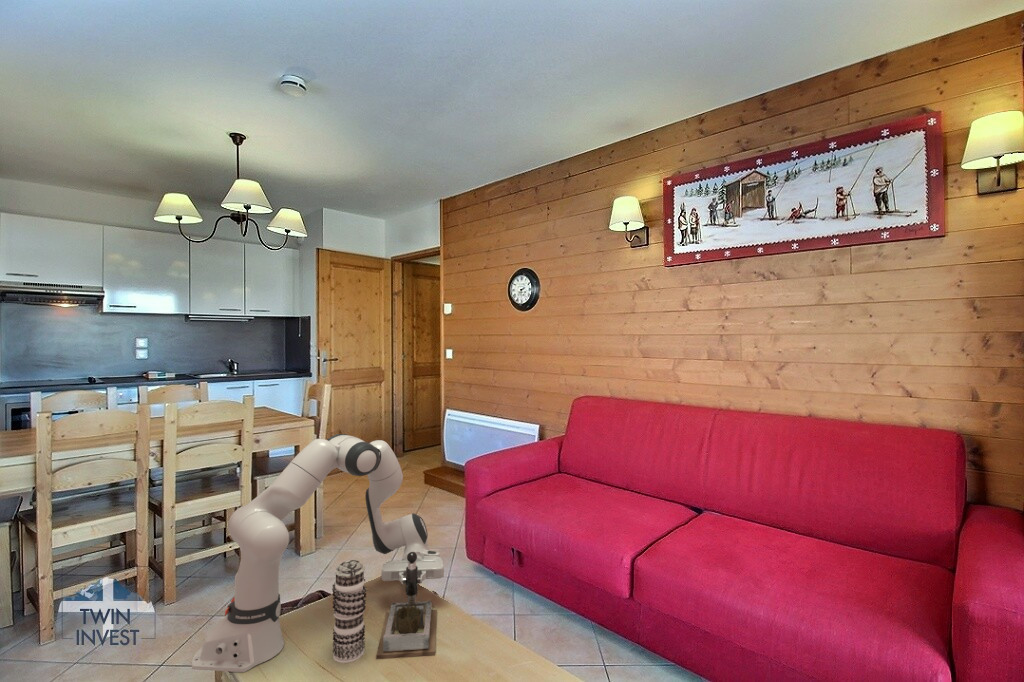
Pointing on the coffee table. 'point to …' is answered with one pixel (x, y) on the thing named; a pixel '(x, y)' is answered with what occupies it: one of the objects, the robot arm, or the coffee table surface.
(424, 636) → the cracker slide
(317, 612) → the coffee table surface
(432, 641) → the base
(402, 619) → the cup
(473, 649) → the coffee table surface
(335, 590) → the decorative candle
